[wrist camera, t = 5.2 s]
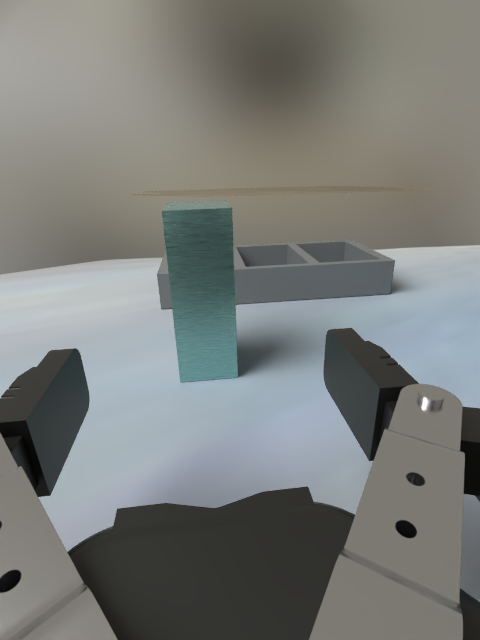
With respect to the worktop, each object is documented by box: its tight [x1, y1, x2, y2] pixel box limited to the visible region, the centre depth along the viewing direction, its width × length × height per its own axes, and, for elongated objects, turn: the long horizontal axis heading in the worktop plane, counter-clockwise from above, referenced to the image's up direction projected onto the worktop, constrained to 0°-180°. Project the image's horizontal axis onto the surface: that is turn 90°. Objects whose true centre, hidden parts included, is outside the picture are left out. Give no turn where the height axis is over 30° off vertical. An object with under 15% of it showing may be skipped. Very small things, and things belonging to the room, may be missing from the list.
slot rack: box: [157, 240, 395, 309], centre depth 39 cm, size 22×11×4 cm, turn 96°
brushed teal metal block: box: [162, 201, 238, 382], centre depth 22 cm, size 4×4×10 cm
